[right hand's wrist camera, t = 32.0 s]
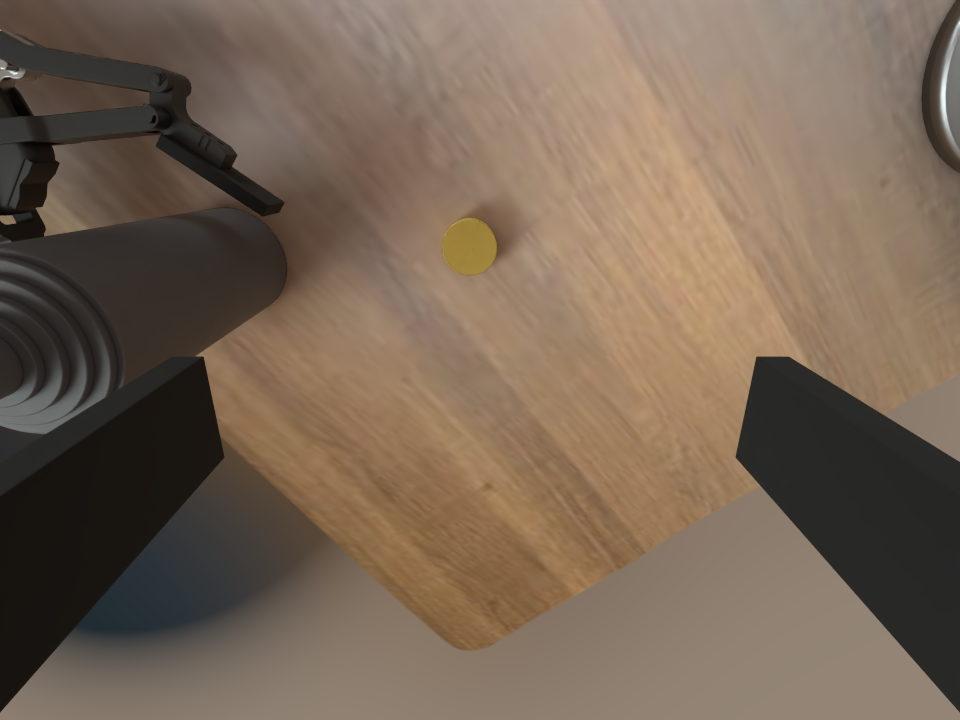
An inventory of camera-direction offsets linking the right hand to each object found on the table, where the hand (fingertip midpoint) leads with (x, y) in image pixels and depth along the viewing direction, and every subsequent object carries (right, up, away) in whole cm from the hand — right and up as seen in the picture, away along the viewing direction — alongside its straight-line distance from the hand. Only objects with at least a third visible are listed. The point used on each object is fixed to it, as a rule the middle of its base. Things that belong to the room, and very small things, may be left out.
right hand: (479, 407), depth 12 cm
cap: (-1, +9, +24) cm, 26 cm away
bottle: (-18, +8, +26) cm, 33 cm away
